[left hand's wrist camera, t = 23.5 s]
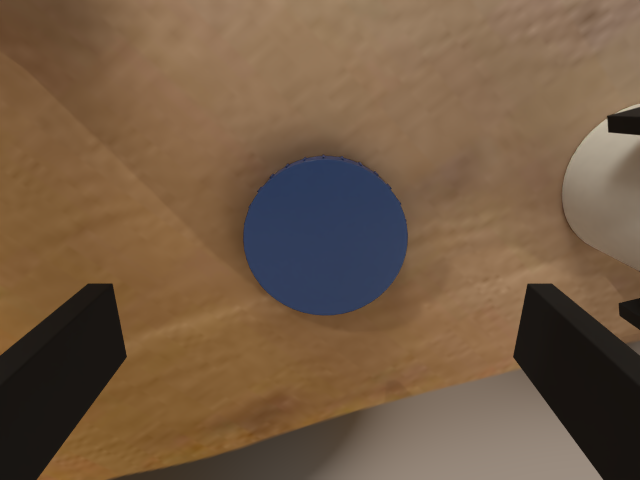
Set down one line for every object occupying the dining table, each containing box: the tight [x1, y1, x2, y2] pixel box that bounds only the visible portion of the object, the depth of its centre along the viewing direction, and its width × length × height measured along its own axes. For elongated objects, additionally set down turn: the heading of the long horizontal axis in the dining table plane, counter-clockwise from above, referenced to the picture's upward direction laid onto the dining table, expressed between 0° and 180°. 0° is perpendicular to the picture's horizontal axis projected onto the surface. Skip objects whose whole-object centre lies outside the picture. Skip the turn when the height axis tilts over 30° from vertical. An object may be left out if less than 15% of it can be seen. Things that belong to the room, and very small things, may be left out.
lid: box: [243, 155, 408, 315], centre depth 24 cm, size 10×10×2 cm
